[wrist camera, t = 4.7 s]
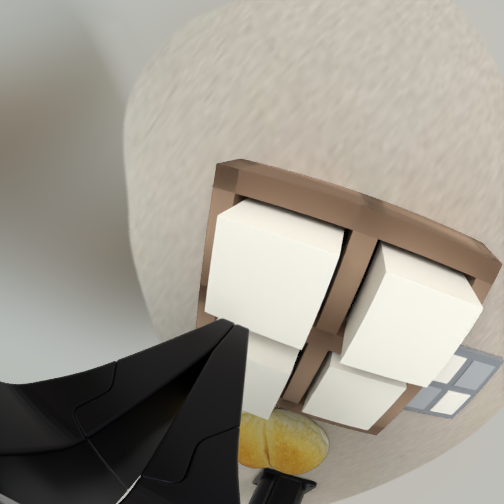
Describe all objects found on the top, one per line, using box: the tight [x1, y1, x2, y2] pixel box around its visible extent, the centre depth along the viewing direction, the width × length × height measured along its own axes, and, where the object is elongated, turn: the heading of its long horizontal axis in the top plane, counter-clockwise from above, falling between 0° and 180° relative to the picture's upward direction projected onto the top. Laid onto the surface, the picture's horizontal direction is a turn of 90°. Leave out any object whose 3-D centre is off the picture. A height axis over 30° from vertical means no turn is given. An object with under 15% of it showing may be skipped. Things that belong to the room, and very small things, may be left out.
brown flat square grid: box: [196, 159, 502, 435], centre depth 13 cm, size 13×13×2 cm
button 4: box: [205, 197, 345, 350], centre depth 11 cm, size 4×4×3 cm
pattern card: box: [404, 345, 504, 418], centre depth 13 cm, size 6×6×1 cm
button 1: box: [302, 350, 407, 430], centre depth 14 cm, size 4×4×3 cm
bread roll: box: [238, 409, 329, 475], centre depth 19 cm, size 8×9×4 cm
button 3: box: [217, 318, 300, 420], centre depth 14 cm, size 4×4×3 cm
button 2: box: [340, 240, 483, 388], centre depth 10 cm, size 4×4×3 cm
